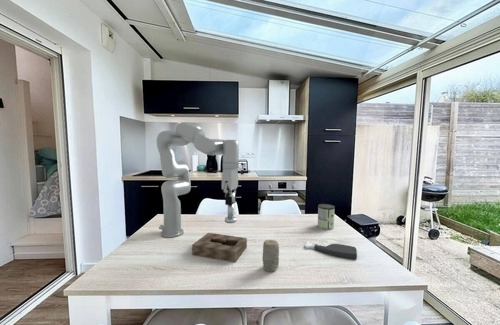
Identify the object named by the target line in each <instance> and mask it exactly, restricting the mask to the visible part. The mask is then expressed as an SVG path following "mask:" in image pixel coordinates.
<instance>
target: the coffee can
mask: <svg viewBox="0 0 500 325" xmlns="http://www.w3.org/2000/svg"><path fill="white" fill-rule="evenodd" d="M335 207H336V206H335V205H333V204H328V203H319V204H318V205H317V209H318V210H317V228H318V229H320V230H325V231H326V230H328V231H330V230H334V229H335V209H336V208H335Z"/></svg>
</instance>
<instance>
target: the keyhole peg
mask: <svg viewBox="0 0 500 325" xmlns="http://www.w3.org/2000/svg"><path fill="white" fill-rule="evenodd" d="M228 192H229V194H230V191H228ZM231 197H232V205H227V216H226V217H224V222H225V223H227V224H234V223H236V222H237V217H236V216H234V214H235V213H234V208H235V207H234V204H235V192H232V193H231Z"/></svg>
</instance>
